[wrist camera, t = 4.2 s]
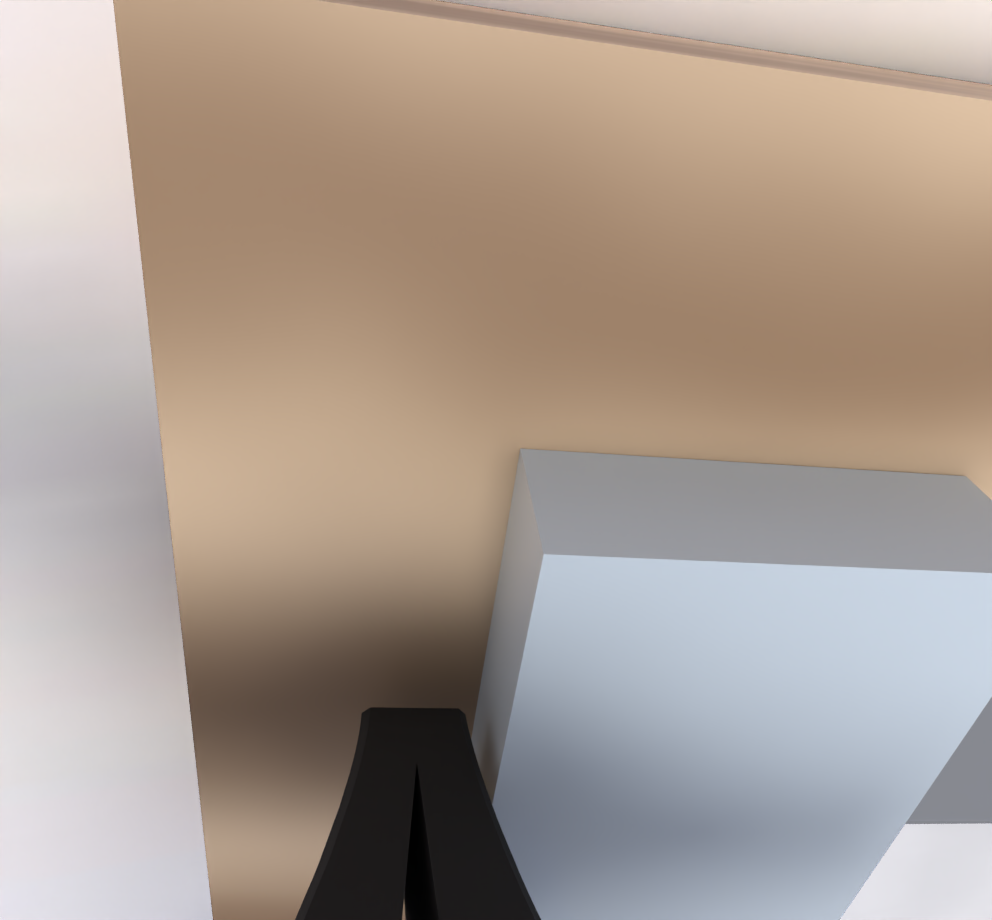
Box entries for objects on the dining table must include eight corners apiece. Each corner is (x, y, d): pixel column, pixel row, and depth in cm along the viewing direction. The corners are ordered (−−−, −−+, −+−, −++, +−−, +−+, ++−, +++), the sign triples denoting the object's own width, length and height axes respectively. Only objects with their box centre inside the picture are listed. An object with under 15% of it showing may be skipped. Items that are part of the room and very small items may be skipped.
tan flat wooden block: (710, 814, 21) (767, 976, 18) (254, 817, 19) (221, 996, 16) (1046, 93, 12) (1303, 147, 8) (211, -35, 10) (110, -31, 6)
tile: (758, 862, 15) (802, 975, 13) (449, 867, 14) (454, 988, 12) (965, 475, 10) (1073, 576, 9) (519, 448, 9) (543, 554, 8)
